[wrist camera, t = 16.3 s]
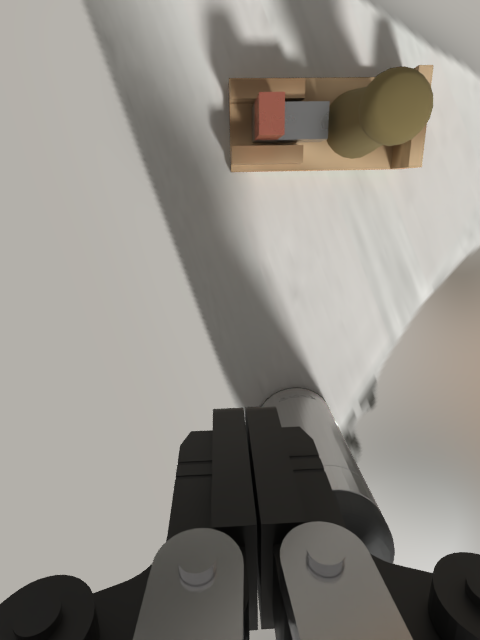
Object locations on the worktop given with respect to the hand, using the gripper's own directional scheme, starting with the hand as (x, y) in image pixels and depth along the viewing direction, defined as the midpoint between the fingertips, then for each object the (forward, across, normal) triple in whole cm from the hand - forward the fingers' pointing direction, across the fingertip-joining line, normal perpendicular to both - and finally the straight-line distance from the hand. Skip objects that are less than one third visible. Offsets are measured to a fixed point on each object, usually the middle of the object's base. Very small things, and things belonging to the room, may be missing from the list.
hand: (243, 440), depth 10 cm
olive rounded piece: (+34, -13, -11) cm, 38 cm away
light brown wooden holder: (+35, -10, -11) cm, 38 cm away
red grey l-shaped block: (+34, -6, -11) cm, 36 cm away
